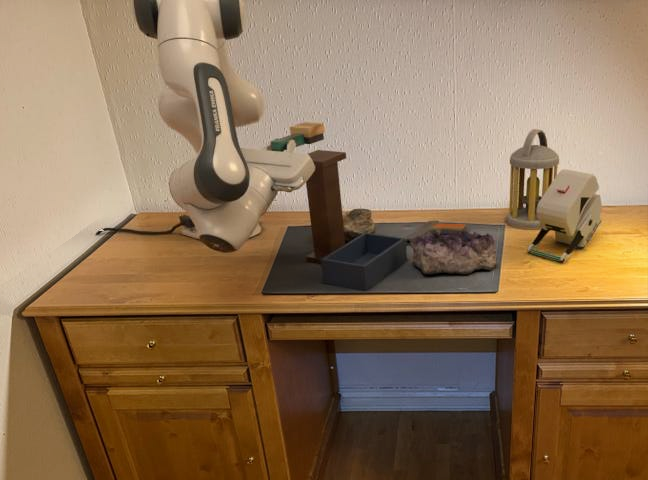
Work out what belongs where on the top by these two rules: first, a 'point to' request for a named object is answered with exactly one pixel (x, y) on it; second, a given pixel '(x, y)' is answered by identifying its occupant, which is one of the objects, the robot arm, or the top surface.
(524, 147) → the lantern
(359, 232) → the stone
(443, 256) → the geode
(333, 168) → the stand
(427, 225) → the handgun
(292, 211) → the top surface
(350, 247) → the desk bin
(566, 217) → the robotic device
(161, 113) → the robot arm
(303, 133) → the brush
